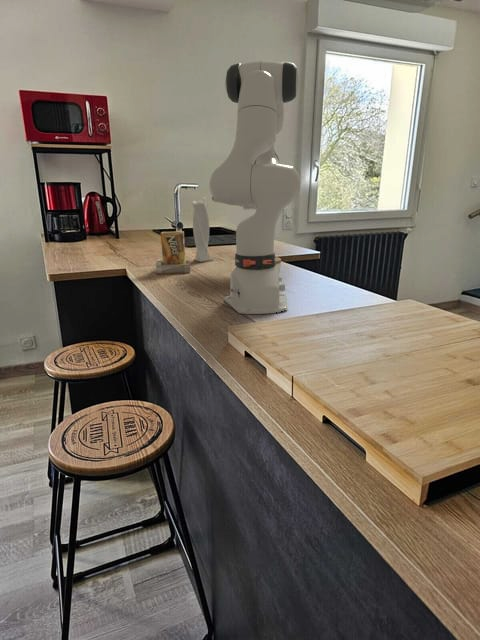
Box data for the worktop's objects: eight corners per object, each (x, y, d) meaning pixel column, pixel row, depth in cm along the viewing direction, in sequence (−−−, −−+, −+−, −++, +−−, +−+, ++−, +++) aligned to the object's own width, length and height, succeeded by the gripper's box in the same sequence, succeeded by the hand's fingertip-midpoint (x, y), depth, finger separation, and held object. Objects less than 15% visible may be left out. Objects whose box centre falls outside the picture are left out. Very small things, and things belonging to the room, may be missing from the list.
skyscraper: (215, 261, 192) (213, 197, 183) (200, 263, 188) (196, 197, 179) (206, 258, 199) (203, 196, 190) (191, 260, 194) (187, 197, 186)
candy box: (186, 268, 174) (184, 231, 169) (185, 270, 170) (183, 232, 165) (164, 269, 174) (161, 231, 169) (163, 271, 170) (160, 232, 165)
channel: (190, 273, 168) (189, 262, 167) (156, 274, 167) (155, 263, 165) (190, 268, 178) (189, 257, 176) (158, 269, 176) (157, 258, 175)
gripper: (244, 189, 175) (210, 189, 174) (251, 190, 156) (214, 191, 155) (244, 204, 177) (211, 205, 176) (251, 207, 158) (214, 208, 157)
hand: (212, 198), depth 165 cm, fingers open, 8 cm apart
